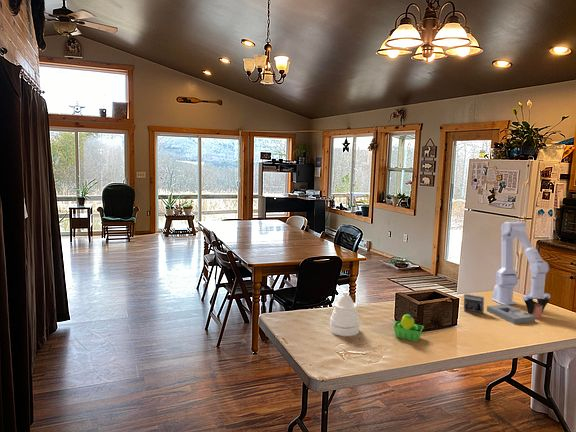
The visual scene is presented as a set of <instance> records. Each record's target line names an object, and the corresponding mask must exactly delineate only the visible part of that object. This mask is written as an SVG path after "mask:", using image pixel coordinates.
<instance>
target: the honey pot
mask: <svg viewBox="0 0 576 432" xmlns="http://www.w3.org/2000/svg"><path fill="white" fill-rule="evenodd" d="M333 306H334V308H333V310H332V313H331V316H330V317H329V331H330V333H333V335H337V336H341V337H352V336H356V335H358V334H359V333H360V318H359V315H358V311H357V308H358V304H357V303H355V302H354V300H353V299H352V297H351V295H350V294H349V291H345V290H344V291H342V295H341V296H340V297H339V298H338V299H337V302H335V303H334V305H333Z"/></svg>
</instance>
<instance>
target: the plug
mask: <svg viewBox="0 0 576 432" xmlns="http://www.w3.org/2000/svg"><path fill="white" fill-rule="evenodd" d="M535 302H536V301H535ZM542 307H543V305H540V304H538V302H536V303H535V305H534V309H533V314H530V315H532V316H535V319H540V318H541V319H542V315H543V313H542ZM527 313H528V312H527ZM528 314H529V313H528Z"/></svg>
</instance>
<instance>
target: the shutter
mask: <svg viewBox="0 0 576 432" xmlns="http://www.w3.org/2000/svg"><path fill="white" fill-rule="evenodd" d="M514 308H515V309H510V311H509V314H511V315H513V316H515V317H518V318H526V317H530V314H528V312H526V311H523V310H522V309H521V308H520V307H514Z"/></svg>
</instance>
